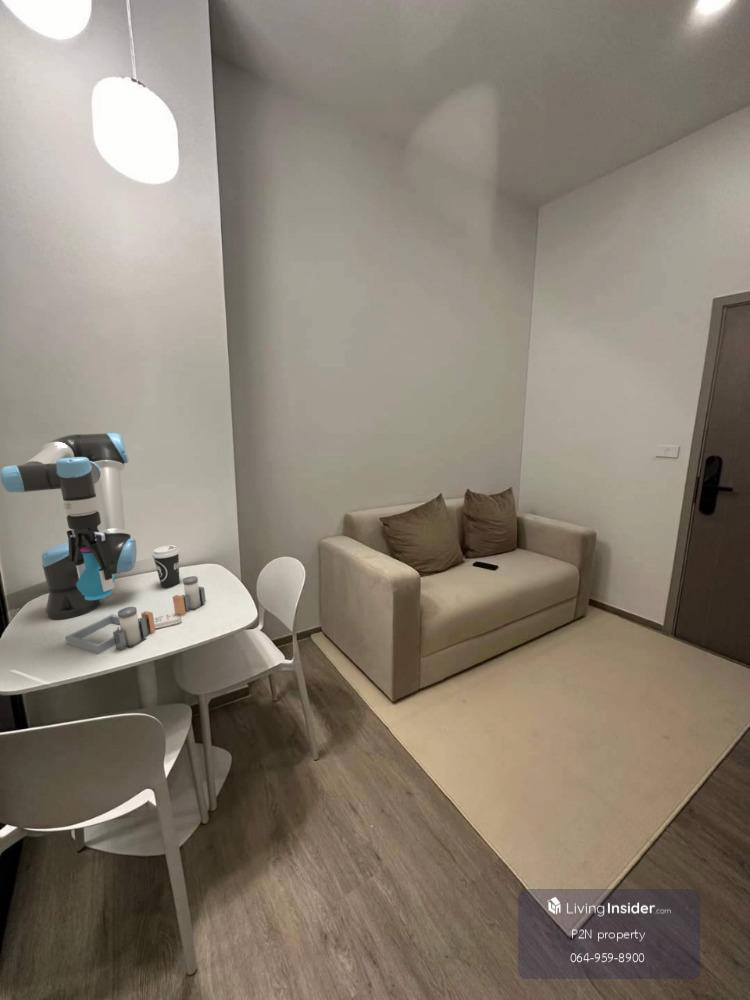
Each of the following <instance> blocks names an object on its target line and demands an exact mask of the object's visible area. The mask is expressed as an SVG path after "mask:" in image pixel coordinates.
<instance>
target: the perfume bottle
mask: <svg viewBox="0 0 750 1000" xmlns="http://www.w3.org/2000/svg"><path fill="white" fill-rule="evenodd" d="M80 551H81V552H82V554H83V558H84V563H85V568H86V569H85V570H84V572H83V574H82V575H81V577H80V578H79V580H78V582H77V583H76V586H77V588H78V590H79V591H80V592H81V593H82V595H84V596H85V600H97V599H100V600H101V599H104V598H107V597H109V596H110V595H112V593H113V591H112V589H110V590H108V591H105V592H104V591H103V588H102V583H101V577H100V572H99V569H101V567H100V566H99V564H98V562H97V560H96V558H95V556H94V554H93V552H92V550H91V549H89V548H88V547H87V546H84V547H82V548H81V549H80ZM112 579H113V584H114V583H115V574H112Z"/></svg>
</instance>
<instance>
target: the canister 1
mask: <svg viewBox="0 0 750 1000" xmlns="http://www.w3.org/2000/svg"><path fill="white" fill-rule="evenodd" d="M117 616H118V617H119V620H120V630H122V631H124V634H125V640H126V645H127V646H132V645H135V644H137V643H139V642H140V641H141V635H140V629H139V623H138V619H139V618H138V610H137V607H136V606H127V607H124V608H121V609H119V610H118V612H117Z"/></svg>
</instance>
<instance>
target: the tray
mask: <svg viewBox="0 0 750 1000" xmlns="http://www.w3.org/2000/svg"><path fill="white" fill-rule="evenodd" d="M110 624H116V625H120V620H119V617H118V614H117V615H116V614H113V613H111V614H110V615H107V616H106V617H103V618H102V619H99V620H97V621H95V622H93V623H91V624H89V625H87V626H85V627H83V628H81V629H79V630H77V631H75V632H73V633H70V634H69V635H67V636H65V641H66V644H67V645H69V646H71V647H76V648H79V649H82V650H85V651H89V652H93V653H96V654H100V655H101V653H103V652H104V651H107V650H108V649H110V648H112V647H113V646H115V640H114V635H113V636H111V637H109V638H107V639H106V640H103V641H101V642H100V643H98V642H93V641H90V640H86V639H83V638H85V637H87V636H89V635H91V634H92V633H94V632H97V631H99V630H101V629H103V628H106V626H108V625H110Z"/></svg>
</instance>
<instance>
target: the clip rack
mask: <svg viewBox="0 0 750 1000" xmlns="http://www.w3.org/2000/svg"><path fill="white" fill-rule="evenodd" d="M198 587H199V595H200V602H201V605H200V606H199V607H197V608H194V609H190V604H189V597H188V596H186V595H185V594H182V595H178V594H176V595H173V596H172V602H173V608H174V609H173V610H174V614H175V615H177V616H182V617H183V616H184V615H185V614H186V613H188V612H190V611H196V610H198V609H200V608H202V607H203V606H204V605H206V603H205V602H206V601H207V600H206V593H205V587H202V586H198ZM140 614H141V617H139V618H138V623H139V629H140V635H141V641H140V642H139V643H137V644H135V645H132V646H127V645H126V640H125V634H124V631H122V630H121V629H116V630H114V631H113V632H112V635H113V636H114V640H115V645H114V646H115V649H116V650H119V651H124V650H125V649H127V648H129V649H132V648H135V647H136V646H138V645H139V644H141V643H143V642H145V641H146V640H148V638H146V637H147V636H149V634H151V635H152V634H153V633H155V632H156V625H155V619H154V613H153V612H150V611H146V610H145V611H143V612H141V613H140Z"/></svg>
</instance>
